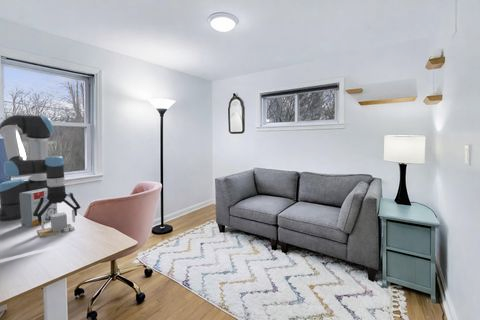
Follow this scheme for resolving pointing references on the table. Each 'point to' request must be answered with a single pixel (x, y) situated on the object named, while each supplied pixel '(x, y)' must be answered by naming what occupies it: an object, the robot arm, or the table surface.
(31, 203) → the hard drive box
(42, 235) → the board
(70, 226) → the laminate strip
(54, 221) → the block
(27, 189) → the robot arm
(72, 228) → the spacer wedges
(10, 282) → the table surface
